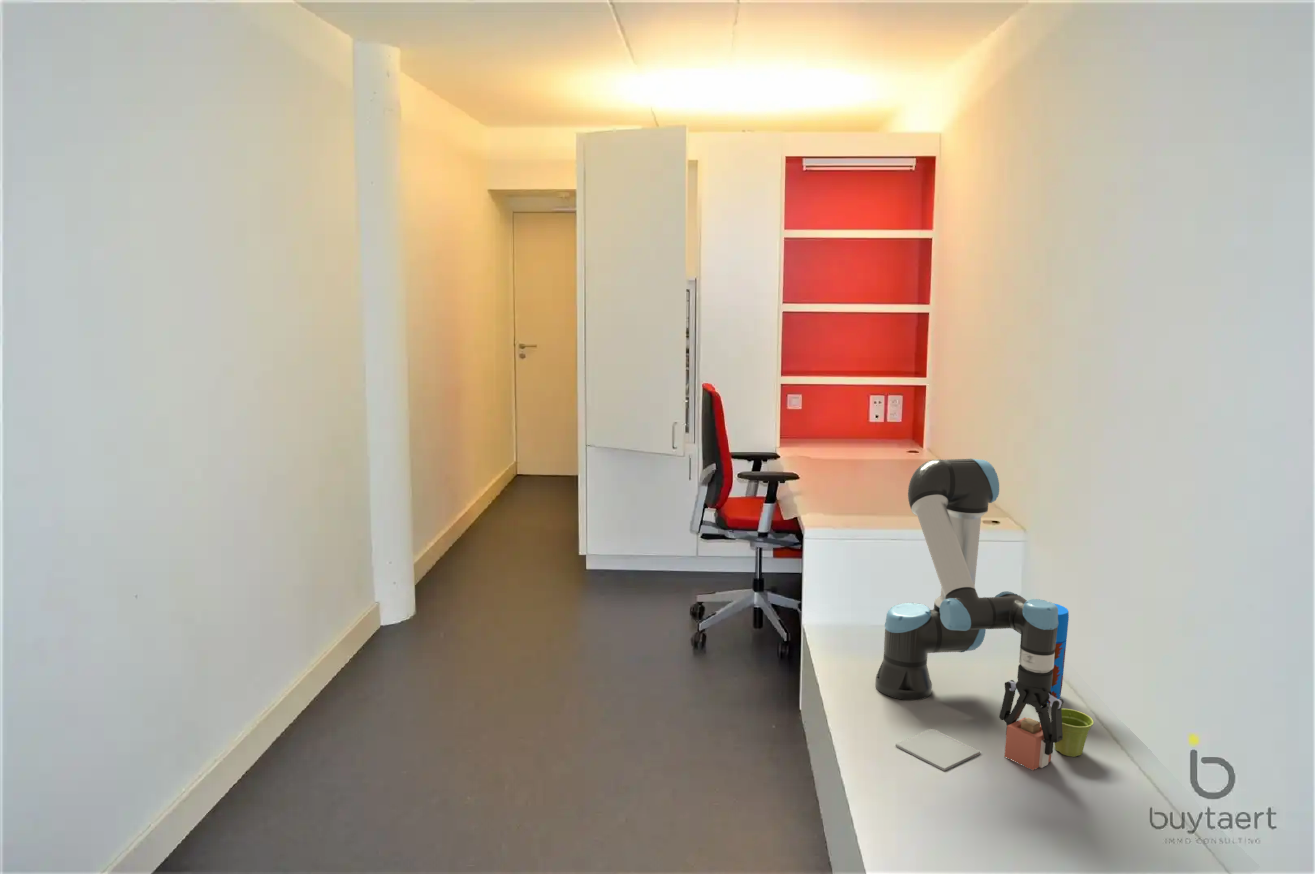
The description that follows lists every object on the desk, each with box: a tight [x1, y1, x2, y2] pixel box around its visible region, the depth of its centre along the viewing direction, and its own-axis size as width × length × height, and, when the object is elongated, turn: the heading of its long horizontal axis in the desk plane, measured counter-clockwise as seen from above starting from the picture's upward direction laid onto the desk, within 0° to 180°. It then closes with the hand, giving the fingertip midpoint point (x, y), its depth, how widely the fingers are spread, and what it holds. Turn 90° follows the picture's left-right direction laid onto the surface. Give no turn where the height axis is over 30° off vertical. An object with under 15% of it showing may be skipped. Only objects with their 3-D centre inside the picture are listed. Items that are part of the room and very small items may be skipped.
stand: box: [1021, 717, 1040, 734], centre depth 218 cm, size 4×4×10 cm
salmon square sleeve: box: [1004, 717, 1052, 771], centre depth 218 cm, size 7×7×8 cm
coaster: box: [895, 728, 981, 772], centre depth 222 cm, size 14×14×1 cm
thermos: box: [1047, 602, 1070, 705], centre depth 251 cm, size 11×11×25 cm
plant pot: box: [1054, 708, 1094, 758], centre depth 222 cm, size 9×9×9 cm
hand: (1027, 758), depth 218 cm, fingers closed on salmon square sleeve, 7 cm apart
